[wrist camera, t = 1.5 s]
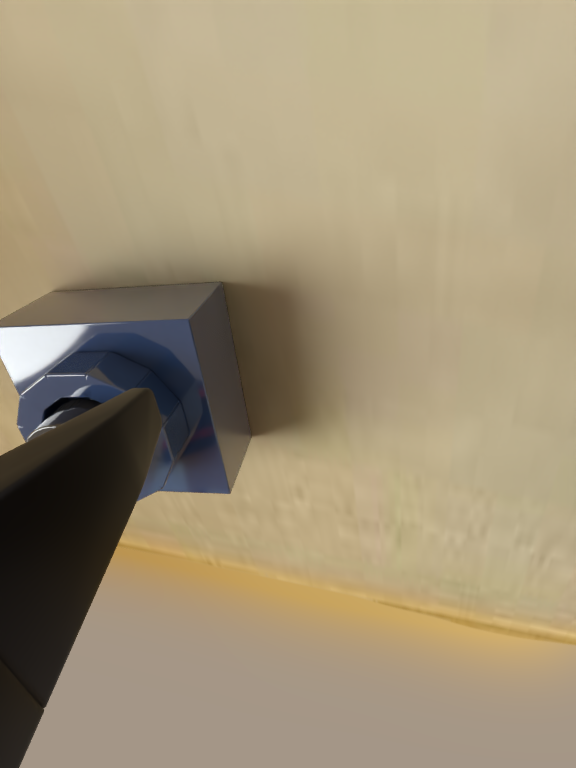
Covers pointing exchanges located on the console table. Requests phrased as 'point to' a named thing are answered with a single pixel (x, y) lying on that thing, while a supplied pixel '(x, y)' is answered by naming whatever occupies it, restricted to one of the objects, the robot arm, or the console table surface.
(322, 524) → the console table surface
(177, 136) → the console table surface
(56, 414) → the cylinder
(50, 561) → the robot arm
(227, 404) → the blue stepped block
